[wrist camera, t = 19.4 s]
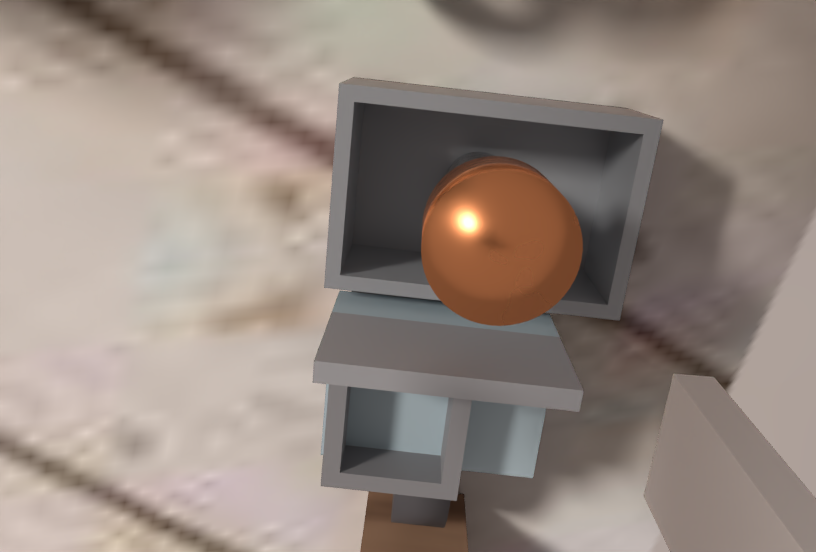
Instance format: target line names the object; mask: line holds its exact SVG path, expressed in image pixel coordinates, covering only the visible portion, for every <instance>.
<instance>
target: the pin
mask: <svg viewBox="0 0 816 552" xmlns="http://www.w3.org/2000/svg"><path fill="white" fill-rule="evenodd" d="M582 252H583V239H582V232H581V228H580V224H579V221H578V218H577V216H576V214H575V212H574V210H573V208H572V207H571V205H570V204H569V202H568V201H567V200H566V198H565V197H564V196H563V195H562V194H561V193H560V192H559V191H558V190H557V188H556V187H555V186H554V185H553V184H552V183H551V182H550V181H549V180H548V179H547V178H546V177H545V176H544V175H543V174H542V173H541V172H539V171H538V170H537V169H535V168H534V167H532V166H531V165H529V164H527V163H525V162H523V161H520V160H517V159H514V158H509V157H503V156H494V155H492V154H490V153H487V152H470V153H467V154H464V155H462V156H460V157H459V158H458V159H456V160H455V161H454V162H453V163H452V164H451V166H450V167H449V169H448V171H447V173H446V175H445V176H444V177H443V178H442V179H441V180H440V182H439V183H438V184H437V185H436V187H435V188H434V190H433V191H432V193H431V194H430V197H429V199H428V201H427V203H426V206H425V209H424V214H423V220H422V242H421V257H422V264H423V269H424V273H425V275H426V278H427V281H428V283H429V285H430V286H431V288H432V290H433V291H434V293H435V294H436V296H437V297H438V298H439V299H440V300H441V301H442V302H443V304H444V305H445V306H447V307H448V308H449V309H450V310H452V311H453V312H455V313H456V314H458V315H460V316H461V317H463V318H466V319H468V320H470V321H473V322H476V323H480V324H485V325H492V326H506V325H514V324H519V323H523V322H526V321H529V320H532V319H534V318H536V317H538V316H540V315H542V314H543V313H545V312H547V311H548V310H549V309H551V308H552V307H553V306H554V305H556V304H557V303H558V302H559V301H560V300H561V299H562V298H563V297H564V295H565V294H566V293H567V291H568V290H569V289H570V287H571V285H572V284H573V282H574V280H575V278H576V276H577V273H578V271H579V268H580V264H581V260H582Z"/></svg>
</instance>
